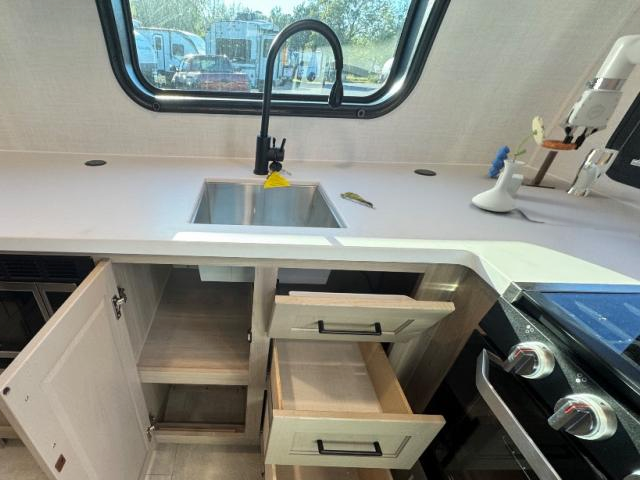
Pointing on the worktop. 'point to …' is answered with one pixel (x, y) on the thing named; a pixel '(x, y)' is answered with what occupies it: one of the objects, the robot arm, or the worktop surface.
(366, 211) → the worktop surface
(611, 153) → the beer glass
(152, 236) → the worktop surface
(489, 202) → the flower in vase
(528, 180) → the stand
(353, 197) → the green bird figurine
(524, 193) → the worktop surface
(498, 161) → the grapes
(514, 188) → the product carton
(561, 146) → the ring
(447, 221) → the worktop surface
